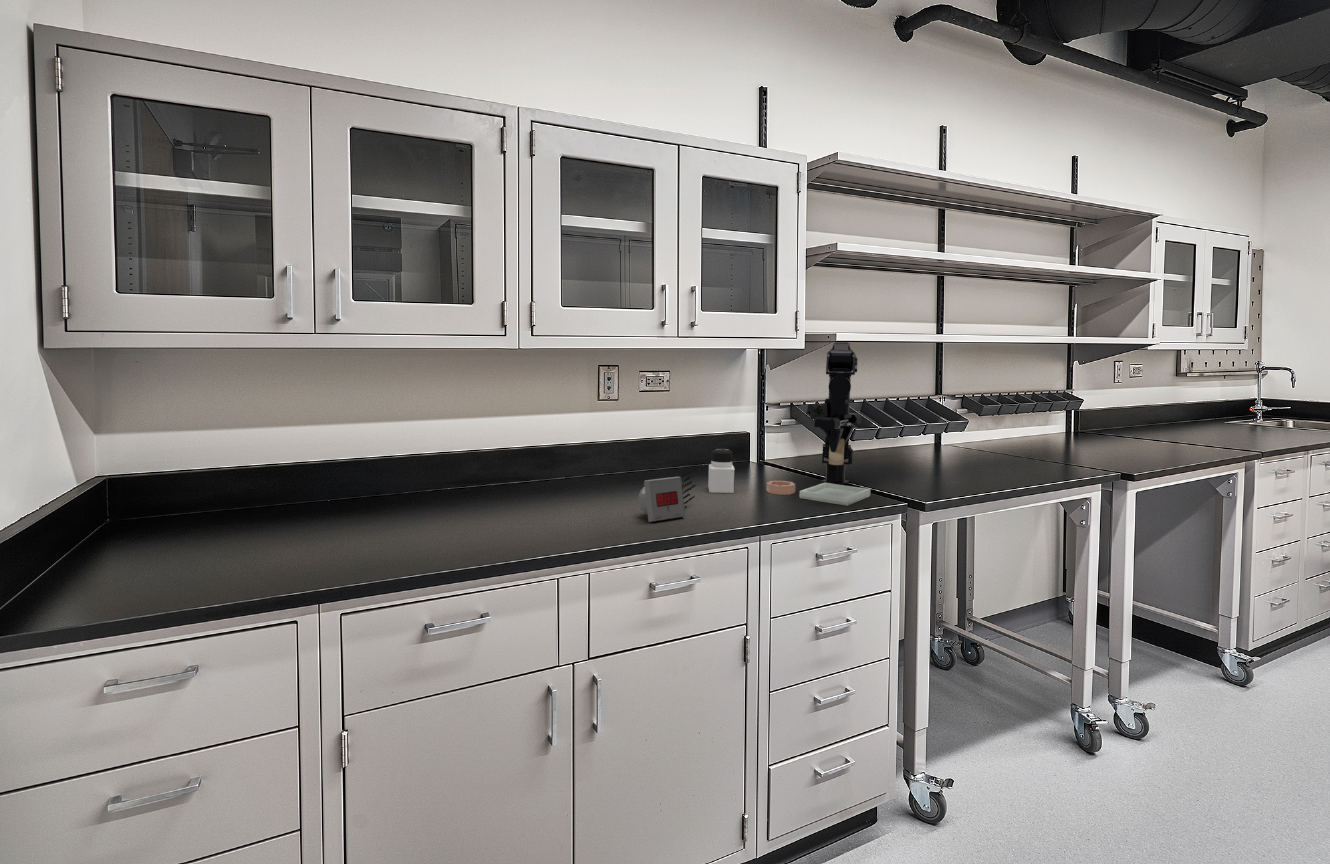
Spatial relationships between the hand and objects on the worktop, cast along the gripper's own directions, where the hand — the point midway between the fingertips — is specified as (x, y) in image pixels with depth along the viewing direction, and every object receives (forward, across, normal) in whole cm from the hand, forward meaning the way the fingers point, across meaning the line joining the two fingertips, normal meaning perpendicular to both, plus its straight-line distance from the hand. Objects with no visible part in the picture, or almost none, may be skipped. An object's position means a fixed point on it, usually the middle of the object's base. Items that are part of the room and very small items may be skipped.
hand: (836, 451), depth 194 cm
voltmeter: (+13, +44, -23) cm, 52 cm away
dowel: (+4, 0, 0) cm, 4 cm away
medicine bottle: (+13, +14, -29) cm, 35 cm away
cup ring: (+13, +4, -15) cm, 20 cm away
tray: (+13, 0, 0) cm, 13 cm away
